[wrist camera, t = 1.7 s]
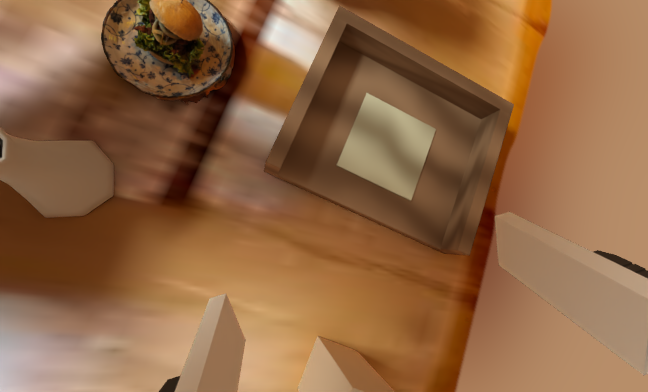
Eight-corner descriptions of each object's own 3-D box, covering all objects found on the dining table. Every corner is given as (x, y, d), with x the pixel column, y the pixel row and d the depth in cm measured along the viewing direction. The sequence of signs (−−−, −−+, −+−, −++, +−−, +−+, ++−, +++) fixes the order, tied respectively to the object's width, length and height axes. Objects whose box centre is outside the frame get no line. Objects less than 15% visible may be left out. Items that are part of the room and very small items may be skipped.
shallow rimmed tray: (444, 253, 35) (469, 255, 31) (263, 171, 32) (265, 161, 28) (486, 118, 39) (513, 104, 35) (329, 32, 35) (339, 5, 31)
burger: (101, -3, 31) (55, -77, 23) (225, -4, 34) (217, -71, 26) (118, 113, 30) (75, 73, 22) (244, 101, 32) (242, 62, 25)
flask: (11, 153, 27) (-123, 107, 17) (101, 129, 29) (26, 75, 19) (39, 231, 27) (-81, 227, 17) (128, 201, 29) (66, 183, 19)
